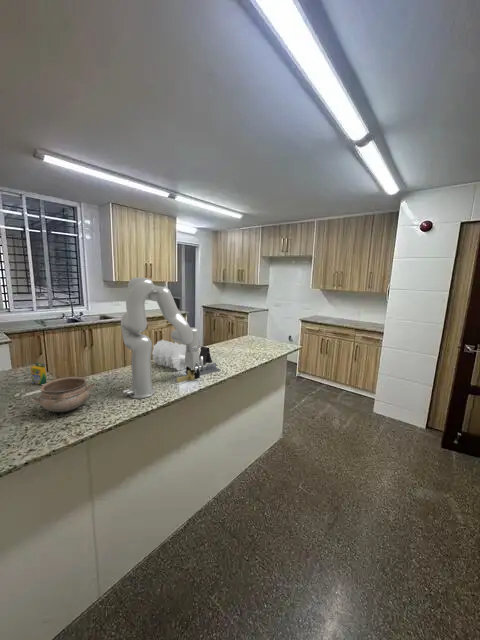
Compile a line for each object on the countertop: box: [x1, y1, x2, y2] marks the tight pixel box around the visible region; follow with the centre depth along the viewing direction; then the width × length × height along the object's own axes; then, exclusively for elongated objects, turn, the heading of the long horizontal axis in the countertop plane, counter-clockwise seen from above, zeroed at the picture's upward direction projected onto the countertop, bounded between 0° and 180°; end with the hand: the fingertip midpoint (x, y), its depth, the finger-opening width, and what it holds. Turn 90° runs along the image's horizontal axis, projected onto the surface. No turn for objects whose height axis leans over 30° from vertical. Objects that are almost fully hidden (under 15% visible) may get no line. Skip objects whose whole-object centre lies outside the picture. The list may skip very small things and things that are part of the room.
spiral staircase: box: [151, 338, 186, 372], centre depth 180 cm, size 18×18×25 cm
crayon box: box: [30, 362, 48, 385], centre depth 149 cm, size 7×3×12 cm, turn 73°
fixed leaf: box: [200, 356, 218, 372], centre depth 177 cm, size 12×3×10 cm, turn 130°
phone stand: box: [199, 345, 213, 366], centre depth 190 cm, size 9×6×12 cm, turn 143°
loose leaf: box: [176, 369, 196, 383], centre depth 159 cm, size 12×4×5 cm, turn 130°
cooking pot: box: [30, 376, 96, 414], centre depth 122 cm, size 25×19×12 cm
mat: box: [184, 365, 222, 376], centre depth 175 cm, size 21×12×1 cm, turn 130°
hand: (192, 376), depth 162 cm, fingers open, 9 cm apart
